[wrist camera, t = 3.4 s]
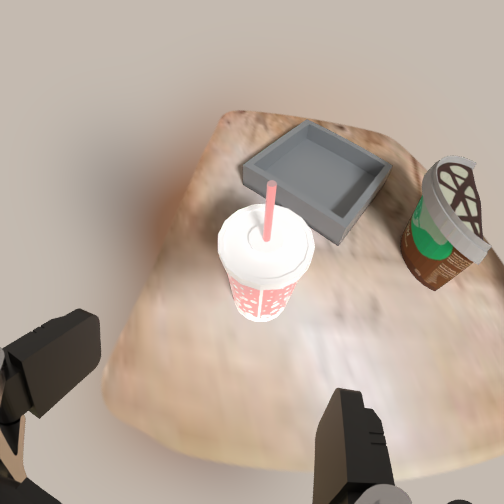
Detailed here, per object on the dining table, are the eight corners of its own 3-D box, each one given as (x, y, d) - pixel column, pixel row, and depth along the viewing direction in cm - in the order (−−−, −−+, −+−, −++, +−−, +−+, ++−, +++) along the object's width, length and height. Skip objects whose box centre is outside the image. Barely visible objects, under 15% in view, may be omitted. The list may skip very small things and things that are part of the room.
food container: (396, 198, 33) (427, 135, 25) (437, 216, 32) (475, 159, 23) (383, 284, 27) (431, 222, 19) (433, 303, 26) (492, 251, 17)
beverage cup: (297, 271, 28) (330, 153, 16) (291, 334, 25) (335, 243, 13) (231, 263, 28) (223, 140, 16) (219, 325, 25) (195, 225, 13)
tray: (385, 182, 34) (392, 165, 32) (338, 245, 29) (345, 228, 27) (304, 136, 39) (307, 119, 36) (242, 184, 33) (242, 164, 31)
